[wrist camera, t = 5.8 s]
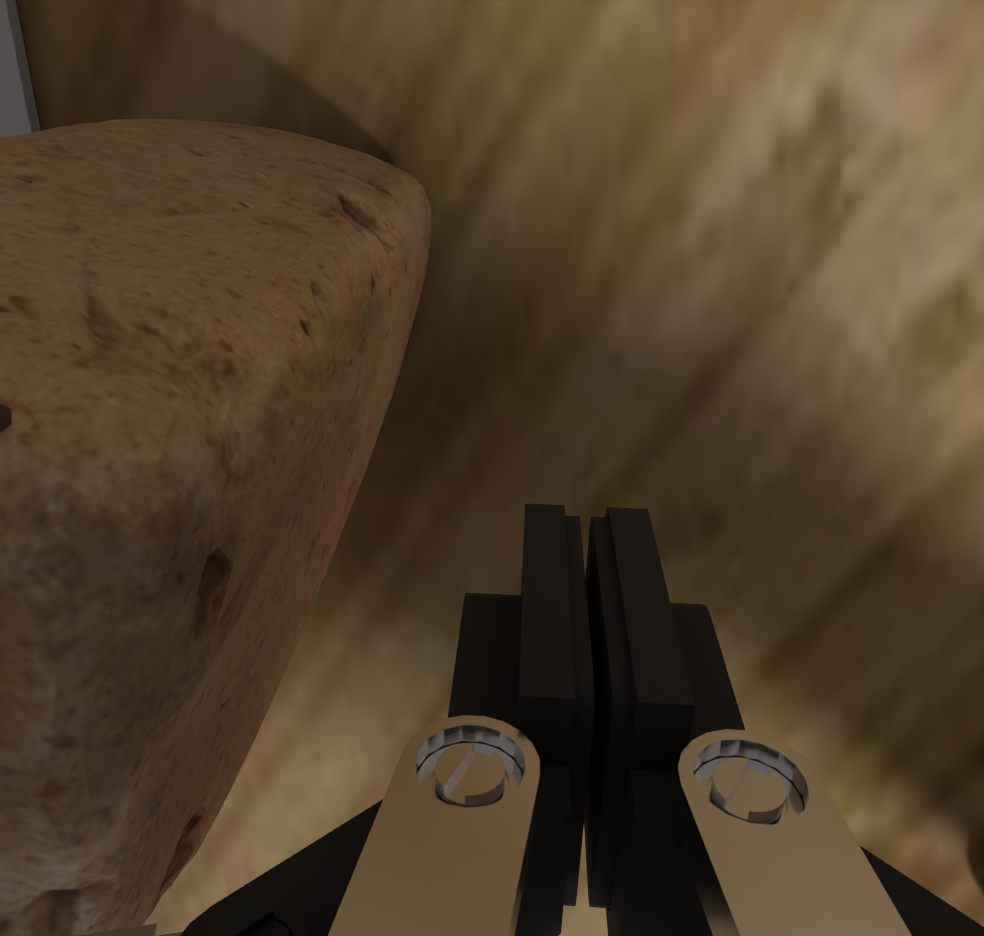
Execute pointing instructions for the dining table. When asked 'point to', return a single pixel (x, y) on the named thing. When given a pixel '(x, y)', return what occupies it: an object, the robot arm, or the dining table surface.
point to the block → (172, 472)
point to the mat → (14, 77)
